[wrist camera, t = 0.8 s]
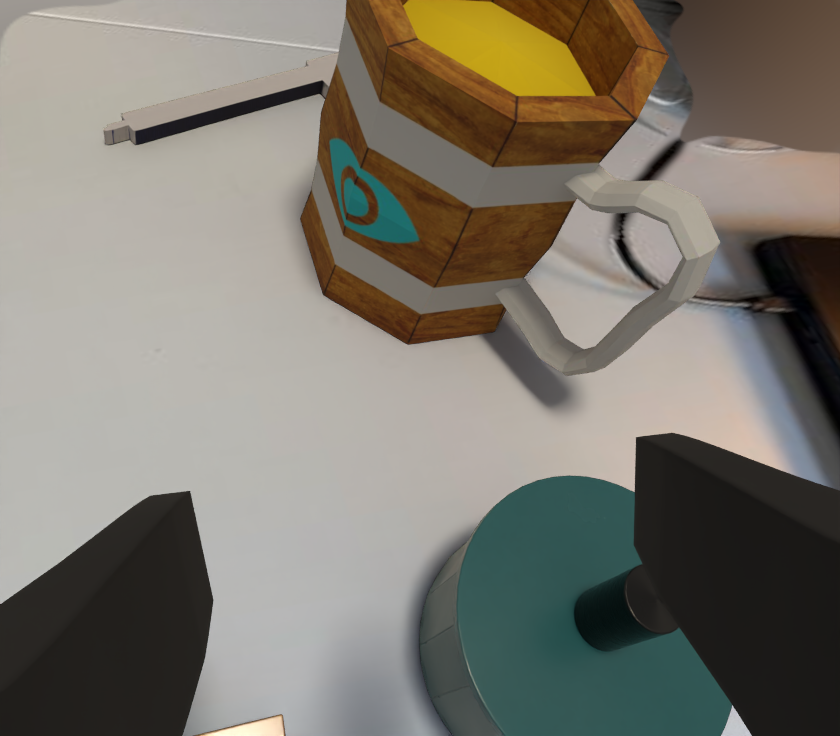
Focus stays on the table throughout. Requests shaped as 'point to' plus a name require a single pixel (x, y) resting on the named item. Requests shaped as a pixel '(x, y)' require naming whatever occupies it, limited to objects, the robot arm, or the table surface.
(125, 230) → the table surface
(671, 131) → the table surface
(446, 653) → the pot
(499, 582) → the pot lid
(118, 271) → the table surface
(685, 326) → the table surface
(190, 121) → the caliper
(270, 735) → the tall bronze cuboid
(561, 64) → the mug
